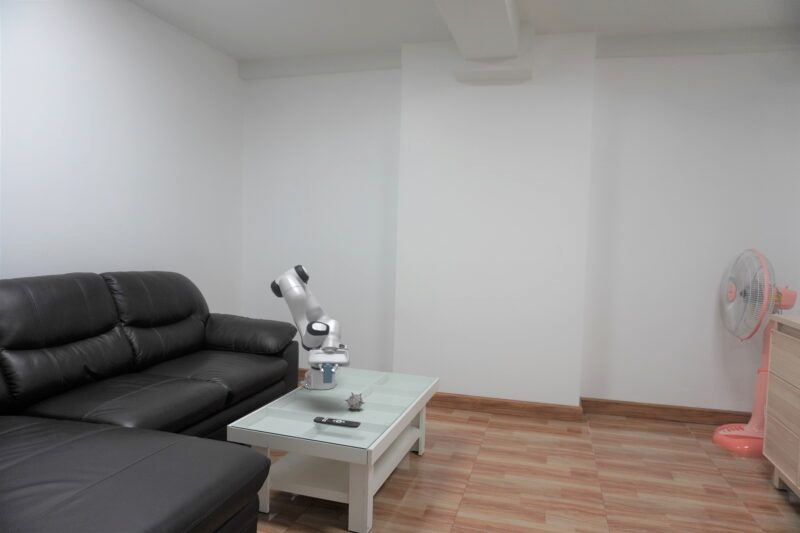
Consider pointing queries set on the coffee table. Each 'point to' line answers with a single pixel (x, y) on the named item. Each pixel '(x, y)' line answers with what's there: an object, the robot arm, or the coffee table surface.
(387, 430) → the coffee table surface
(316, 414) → the coffee table surface
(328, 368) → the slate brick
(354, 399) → the twenty-sided die
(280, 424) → the coffee table surface
